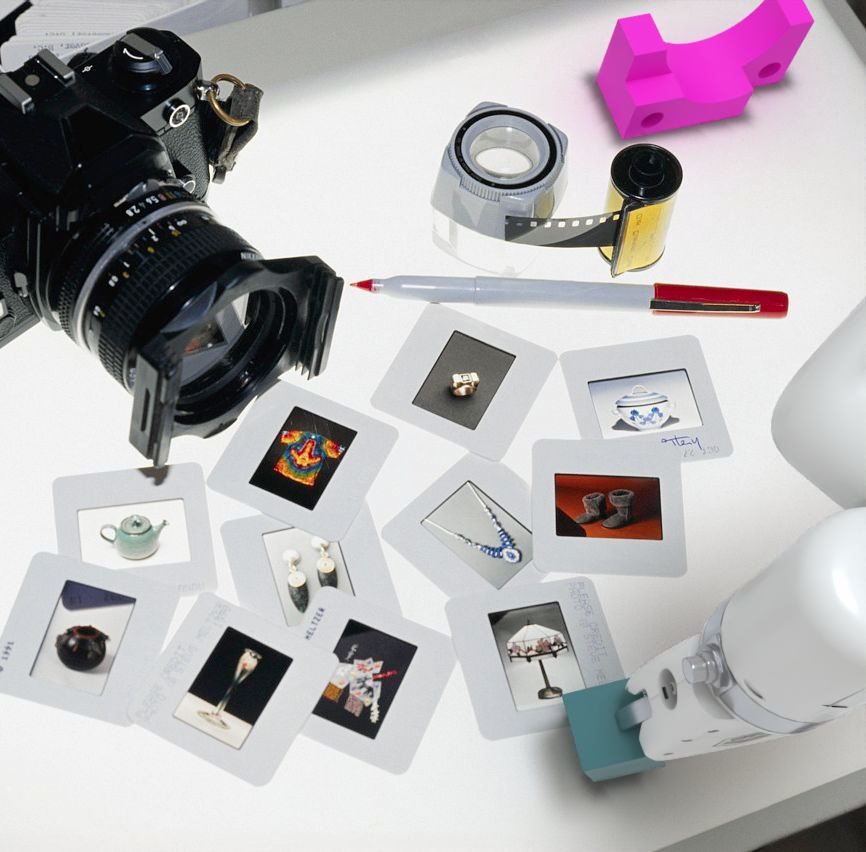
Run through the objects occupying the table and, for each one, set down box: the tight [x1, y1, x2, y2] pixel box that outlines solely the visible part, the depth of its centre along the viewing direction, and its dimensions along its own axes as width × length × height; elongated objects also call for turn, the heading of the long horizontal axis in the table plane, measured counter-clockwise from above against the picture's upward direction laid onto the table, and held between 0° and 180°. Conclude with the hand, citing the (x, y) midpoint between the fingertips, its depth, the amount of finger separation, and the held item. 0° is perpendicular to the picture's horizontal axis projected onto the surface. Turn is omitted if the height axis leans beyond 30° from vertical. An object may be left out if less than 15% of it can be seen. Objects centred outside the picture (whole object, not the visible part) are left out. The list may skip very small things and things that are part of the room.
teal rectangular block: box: [561, 676, 666, 783], centre depth 75 cm, size 5×5×8 cm
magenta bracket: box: [595, 0, 815, 140], centre depth 98 cm, size 15×6×8 cm, turn 104°
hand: (671, 725), depth 78 cm, fingers closed
